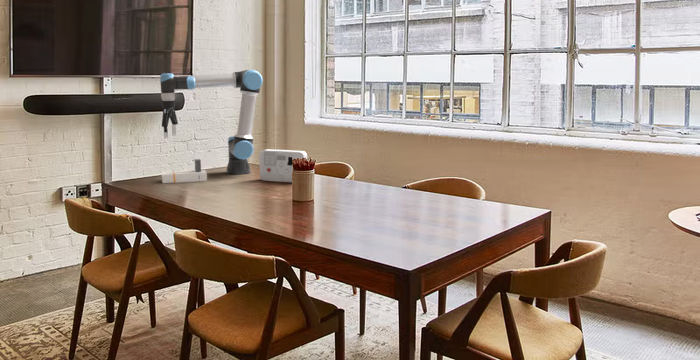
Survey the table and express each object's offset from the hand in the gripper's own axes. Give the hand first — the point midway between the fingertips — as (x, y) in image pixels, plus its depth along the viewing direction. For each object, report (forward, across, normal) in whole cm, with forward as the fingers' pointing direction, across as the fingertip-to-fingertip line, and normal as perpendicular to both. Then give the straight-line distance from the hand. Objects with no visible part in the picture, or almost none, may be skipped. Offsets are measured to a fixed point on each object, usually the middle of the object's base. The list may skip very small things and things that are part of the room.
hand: (170, 136), depth 390 cm
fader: (+26, -1, +15) cm, 30 cm away
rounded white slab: (+27, -1, +66) cm, 71 cm away
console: (+26, +2, +7) cm, 27 cm away
